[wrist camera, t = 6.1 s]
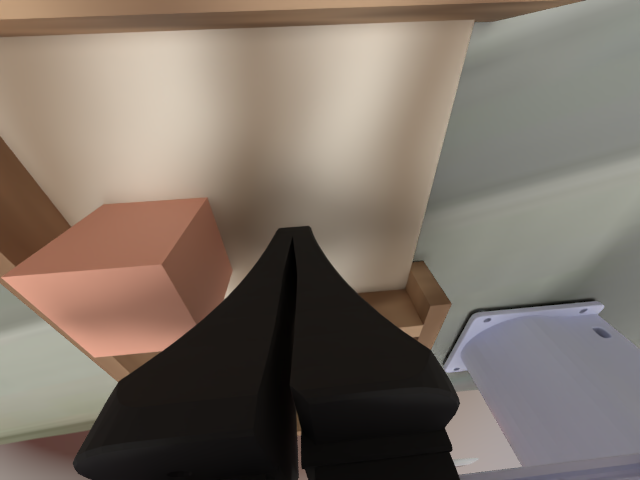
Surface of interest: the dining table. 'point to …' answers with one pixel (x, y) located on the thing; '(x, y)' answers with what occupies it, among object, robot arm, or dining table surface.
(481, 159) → the dining table surface
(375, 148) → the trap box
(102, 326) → the coral block
